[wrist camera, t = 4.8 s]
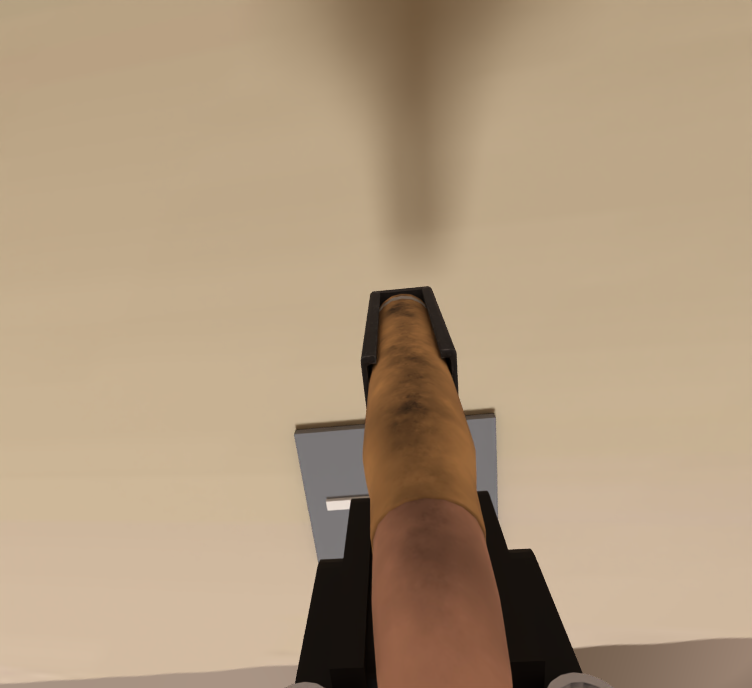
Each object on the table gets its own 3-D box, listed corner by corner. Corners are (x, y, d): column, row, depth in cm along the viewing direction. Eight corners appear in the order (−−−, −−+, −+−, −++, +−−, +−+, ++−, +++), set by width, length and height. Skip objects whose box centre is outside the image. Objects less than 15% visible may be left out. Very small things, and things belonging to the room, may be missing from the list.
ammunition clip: (449, 565, 16) (585, 1404, 5) (400, 567, 16) (422, 1392, 5) (431, 285, 13) (730, 910, 2) (370, 291, 13) (239, 913, 2)
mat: (493, 413, 30) (496, 419, 29) (496, 550, 34) (499, 559, 33) (295, 429, 31) (293, 436, 30) (320, 561, 35) (318, 570, 34)
